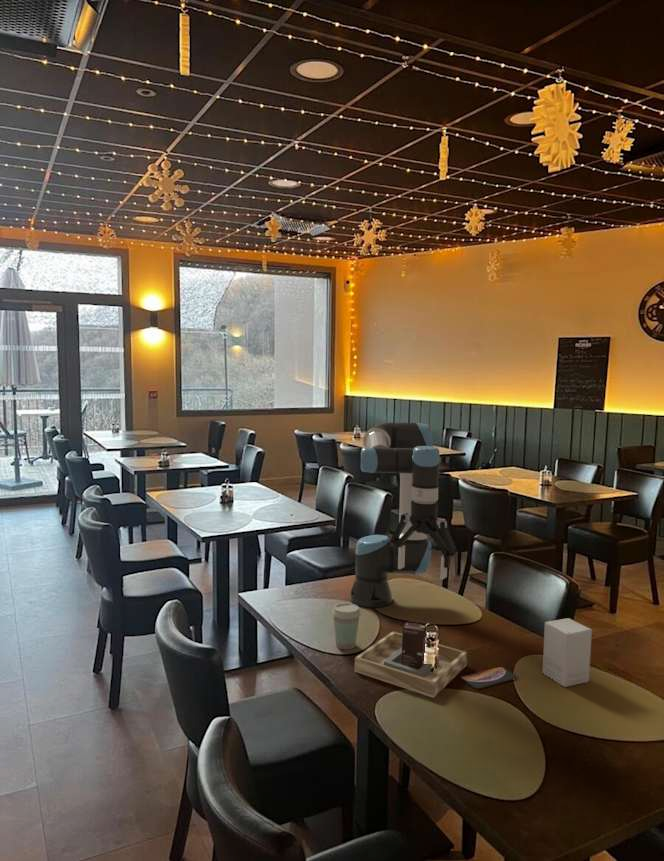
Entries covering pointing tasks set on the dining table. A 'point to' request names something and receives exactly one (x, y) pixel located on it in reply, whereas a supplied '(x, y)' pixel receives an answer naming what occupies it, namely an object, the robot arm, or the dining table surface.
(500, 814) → the dining table surface
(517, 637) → the dining table surface
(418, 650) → the box
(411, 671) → the slate socket
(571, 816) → the dining table surface
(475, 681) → the smartphone
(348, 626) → the coffee cup
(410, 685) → the birch tray
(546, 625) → the supplement box
